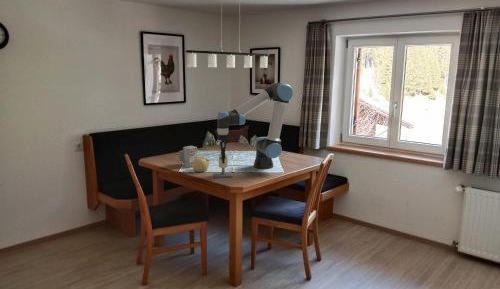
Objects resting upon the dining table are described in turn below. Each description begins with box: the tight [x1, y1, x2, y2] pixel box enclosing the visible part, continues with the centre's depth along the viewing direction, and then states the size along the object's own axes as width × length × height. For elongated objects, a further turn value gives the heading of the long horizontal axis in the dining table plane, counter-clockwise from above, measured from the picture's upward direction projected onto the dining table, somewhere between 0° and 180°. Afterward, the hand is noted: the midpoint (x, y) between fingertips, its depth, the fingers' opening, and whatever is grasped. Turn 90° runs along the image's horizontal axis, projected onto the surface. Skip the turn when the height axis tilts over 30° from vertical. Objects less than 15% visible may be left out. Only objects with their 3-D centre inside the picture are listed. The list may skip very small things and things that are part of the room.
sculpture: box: [192, 156, 210, 173], centre depth 282 cm, size 12×12×11 cm
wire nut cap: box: [218, 153, 229, 169], centre depth 269 cm, size 6×6×8 cm
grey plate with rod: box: [214, 168, 233, 179], centre depth 270 cm, size 12×10×10 cm
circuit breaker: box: [178, 145, 198, 169], centre depth 296 cm, size 8×14×15 cm, turn 51°
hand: (223, 166), depth 270 cm, fingers closed on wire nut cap, 6 cm apart
